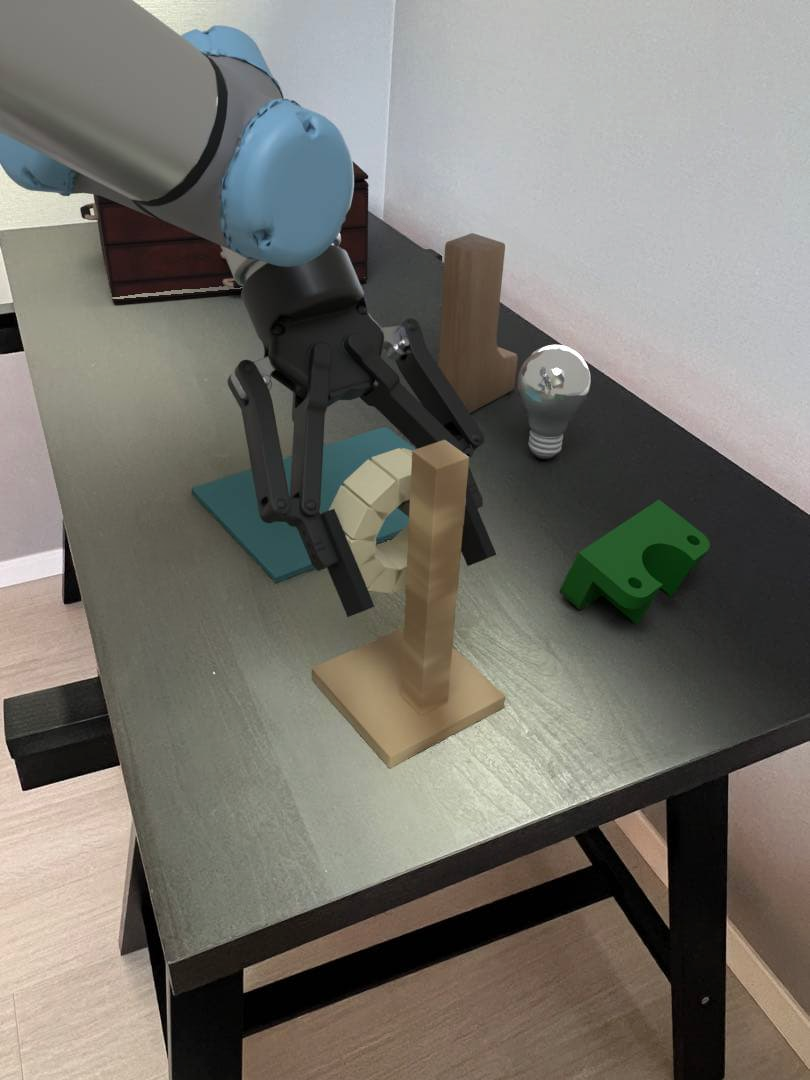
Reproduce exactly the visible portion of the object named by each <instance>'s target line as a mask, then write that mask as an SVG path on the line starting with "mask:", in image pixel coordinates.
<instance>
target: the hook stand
mask: <svg viewBox="0 0 810 1080" xmlns="http://www.w3.org/2000/svg"><path fill="white" fill-rule="evenodd" d="M468 467H469V468H470V458H469V457H468V456H467V455H465V454H464V453H463V452H461V451H460V450H458V449H457V448H456V447H454V446H453V445H451V444H450V443H448V442H447V441H446V440H442V441H439V442H436V443H433V444H430V445H427V446H424V447H421V448H418V449H417V448H415V450H413V451H412V467H411V488H410V500H407V501H405V502H402V503H401V504H400V505H399V506H398V507H397V508H398V509H399V510H400V511H402V512H403V513H404V514H405V515H406V516H408V517H409V530H408V551H407V572H406V588H405V596H404V615H403V618H404V619H403V627H399V628H398V629H397V630H394V631H391V632H389V633H386V634H384V635H382V636H380V637H378V638H376V639H373V640H371V641H369V642H367V643H365V644H362V645H360V646H358V647H355V648H353V649H351V650H349V651H347V652H344V653H342V654H340V655H338V656H335V657H333V658H331V659H329V660H327V661H325V662H322V663H320V664H317V665H315V666H313V667H311V680H312V681H313V683H314V684H315V685H316V686H317V687H318V688H319V689H320V690H321V692H322V693H323V694H324V696H326V697H327V699H328V700H329V701H330V702H331V703H332V705H334V707H335V708H336V709H337V710H338V711H339V712H340V714H342V716H343V717H344V718H345V719H346V720H347V722H348V723H349V724H350V725H351V727H353V729H354V730H355V731H356V732H357V733H358V734H359V735H360V737H361V738H363V740H364V741H365V742H366V744H367V745H368V746H369V747H370V748H371V749H372V750H373V751H374V753H375V754H376V755H377V756H378V757H379V758H380V759H381V761H382V762H383V763H384V764H385V765H386V767H388V769H391V768H393V767H395V766H397V765H399V764H400V763H402V762H404V761H406V760H409V759H411V758H412V757H414V756H416V755H417V754H420V753H421V752H423V751H425V750H427V749H429V748H431V747H433V746H434V745H436V744H438V743H440V742H442V741H444V740H446V739H447V738H449V737H451V736H453V735H455V734H457V733H459V732H461V731H463V730H464V729H467V728H468V727H470V726H472V725H474V724H476V723H477V722H479V721H481V720H483V719H485V718H487V717H489V716H490V715H492V714H495V713H496V712H498V711H500V710H502V709H504V707H505V703H506V702H505V701H506V696H505V694H503V692H502V691H500V689H499V688H498V687H496V686H495V685H494V684H493V683H492V682H491V681H490V680H489V679H488V678H487V677H486V676H485V675H484V674H482V673H481V672H480V670H478V669H477V667H475V666H473V664H471V662H470V661H468V660H467V659H466V658H465V657H464V656H463V655H462V654H461V653H460V652H459V651H457V650H456V649H455V648H454V647H453V646H454V645H453V644H454V634H455V622H456V612H457V611H456V610H457V600H458V589H459V588H458V586H459V578H460V568H461V567H460V566H461V557H462V552H461V545H462V534H463V523H464V512H465V500H466V489H467V478H468Z"/></svg>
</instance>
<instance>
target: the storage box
mask: <svg viewBox="0 0 810 1080" xmlns="http://www.w3.org/2000/svg"><path fill="white" fill-rule="evenodd" d="M352 162H353V170H354V190H353V197H352V202H351V206H350V209H349V211H348V213H347V214H346V218H345V221H344V223H343V224H342V225H341V231H340V232H339V233H340V235H341V242H340V245H339V247H340V248H342V249H344V250H345V251H346V252H347V254H348V256H349V258H350V261H351V263H352V266H353V268H354V270H355V273H356V275H357V277H358V280H359V282H360V285H361V284H363V285H364V284H366V283H367V281H368V253H369V252H368V251H369V250H368V249H369V246H368V245H369V244H368V243H369V241H368V239H369V187H370V185H369V182H368V181H367V180H368V179H369V175H368V174H367V172H366V171H364V170H363V169H362V168H361V167H360V166H359V165H358V164H356V163H355V161H353V160H352ZM92 195H93V202H91V203H87V204H84V205H83V206H81V207H80V208H79V210H80V216H81V218H82V219H83V220H88V221H96V222H97V228H98V233H99V234H98V235H99V240H100V241H99V242H100V248H101V247H102V248H101V254H102V258H103V261H105V262H103V263H104V268H105V271H106V277H107V282H108V286H109V291H110V295H111V294H112V295H111V300H112V303H113V304H114V305H128V304H139V303H151V302H152V303H153V302H164V301H173V300H187V299H198V298H209V297H221V296H233V295H241V292H242V289H243V288H241V289H229V290H218V291H206V292H194V293H183V294H171V295H159V296H148V297H136V298H124V299H112V297H120V296H128V295H135V294H142V293H156V292H164V291H171V290H182V289H200V288H209V287H219V286H222V287H223V286H228V287H234V288H240V287H243V286H241V285H239V284H238V283H237V282H236V281H235V279H234V277H233V275H232V272H231V270H230V267H229V265H228V262H227V260H226V258H225V255H224V253H223V250H222V248H221V246H220V245H218V244H216V243H214V242H212V241H209V240H207V239H205V238H202V237H200V236H198V235H196V234H193V233H191V232H189V231H187V230H184V229H182V228H180V227H178V226H175V225H173V224H171V223H168V222H164V221H161V220H159V219H156V218H153V217H151V216H148V215H146V214H143V213H141V212H139V211H136V210H134V209H131V208H129V207H126V206H124V205H122V204H119V203H117V202H114V201H112V200H110V199H107V198H105V197H103V196H99V195H94V194H92ZM91 209H92V210H93V215H92V213H91ZM102 252H103V253H102ZM105 266H106V267H105ZM107 275H108V276H107ZM364 277H367V278H364ZM108 280H109V281H108ZM110 289H111V290H110Z"/></svg>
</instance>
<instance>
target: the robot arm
mask: <svg viewBox="0 0 810 1080" xmlns="http://www.w3.org/2000/svg"><path fill="white" fill-rule="evenodd" d="M352 161H353V157H352V154H351V151H350V148H349V145H348V143H347V141H346V139H345V137H344V135H343V134H342V132H341V131H340V129H339V128H338V127H337V126H336V124H335V123H333V122H332V121H331V120H330V119H328V118H327V117H326V116H324V115H322V114H320V113H318V112H316V111H313V110H311V109H308V108H305V107H303V106H302V105H300V104H299V103H298V102H297V101H296V100H293V99H292V100H291V99H288V98H284V95H283V91H282V87H281V86H280V84H279V82H278V81H277V80H276V78H275V77H274V75H273V74H272V73H271V70H270V68H269V67H268V64H267V61H266V59H265V58H264V55H263V54H262V52H261V50H260V48H259V46H258V44H257V43H256V41H255V40H254V39H253V38H252V37H251V36H249V34H247V33H246V32H244V31H242V30H240V29H239V28H236V27H232V26H228V25H216V24H215V25H212V26H210V27H209V28H208V29H207V30H204V31H201V30H199V29H198V28H195V29H192V30H189V31H187V32H185V33H182V34H181V35H180V34H179V33H178V32H177V31H175V30H174V29H173V28H171V27H170V26H168V25H167V24H166V23H165V22H163V21H161V20H160V19H159V18H157V17H156V16H155V15H154V14H152V13H151V12H150V11H148V10H146V9H145V8H144V7H143V6H141V5H140V4H138V3H137V2H136V1H134V0H0V166H1V168H2V169H3V171H4V172H5V173H6V175H7V176H8V177H9V179H10V180H11V181H13V182H14V183H15V184H16V185H18V186H19V187H21V188H23V189H25V190H27V191H30V192H31V191H32V192H43V193H52V194H53V193H56V194H59V195H60V196H62V197H70V196H71V195H75V194H76V195H77V194H87V195H88V194H89V195H93V194H94V195H99V196H103V197H105V198H107V199H110V200H112V201H114V202H117V203H119V204H122V205H124V206H126V207H129V208H131V209H134V210H136V211H139V212H141V213H143V214H146V215H148V216H151V217H153V218H156V219H159V220H161V221H164V222H168V223H171V224H173V225H175V226H178V227H180V228H182V229H184V230H187V231H189V232H191V233H193V234H196V235H198V236H200V237H202V238H205V239H207V240H209V241H212V242H214V243H216V244H218V245H220V246H221V248H222V250H223V253H224V255H225V258H226V260H227V262H228V265H229V267H230V270H231V272H232V275H233V277H234V279H235V281H236V282H237V283H238V284H239V285H241V286H243V289H242V292H241V294H240V297H241V299H242V302H243V304H244V307H245V309H246V311H247V314H248V316H249V319H250V321H251V324H252V326H253V328H254V331H255V333H256V336H257V338H258V339H259V340H260V342H261V343H262V345H263V350H264V351H263V353H264V354H263V357H262V358H259V359H257V360H254V361H252V360H250V359H243V360H241V361H240V362H239V363H238V364H237V365H236V367H235V368H234V370H233V371H232V372H231V374H230V375H229V376H228V378H227V386H228V389H229V390H230V392H231V394H232V395H233V397H234V399H235V401H236V403H237V404H238V407H239V408H240V411H241V416H242V421H243V428H244V433H245V438H246V443H247V451H248V457H249V461H250V469H252V474H253V480H254V486H255V492H256V497H257V503H258V509H259V515H260V517H261V519H262V520H263V521H264V522H266V523H273V522H287V524H288V525H290V526H292V527H296V528H297V530H298V532H299V534H300V536H301V539H302V541H303V544H304V546H305V549H306V550H307V553H308V555H309V558H310V561H311V563H312V565H313V566H314V567H315V568H314V569H315V570H316V571H317V572H319V571H323V570H325V569H327V571H328V574H329V576H330V579H331V581H332V583H333V586H334V588H335V591H336V593H337V595H338V598H339V600H340V603H341V605H342V609H343V610H344V612H345V615H346V618H350V617H353V616H355V615H357V614H360V613H363V612H366V611H368V610H370V609H372V608H373V609H374V607H376V606H375V603H374V602H373V599H372V597H371V594H370V591H368V589H367V587H366V584H365V582H364V579H363V577H362V574H361V572H360V570H359V567H358V565H357V562H356V560H355V558H354V555H353V553H352V550H351V548H350V546H349V544H348V541H347V538H346V536H345V533H344V531H343V529H342V526H341V524H340V521H339V519H338V516H337V514H336V512H335V509H332V510H329V511H326V512H324V513H322V514H320V512H319V510H320V501H321V481H322V461H323V446H324V439H325V438H324V437H325V421H326V419H325V418H326V417H325V416H326V411H327V409H328V407H331V406H332V405H333V404H335V403H337V402H338V401H351V400H355V399H358V398H359V399H361V400H362V401H363V402H364V403H365V404H366V405H367V406H369V407H374V408H375V409H376V410H377V411H378V412H379V413H380V414H381V415H382V416H383V417H385V419H386V420H387V421H388V422H389V423H390V424H391V425H392V426H394V428H396V429H397V430H398V432H400V434H401V435H403V437H405V439H406V440H407V441H409V442H410V443H411V444H412V446H413V447H414V448H415V449H418V448H421V447H424V446H427V445H430V444H433V443H436V442H439V441H442V440H446V441H447V442H448V443H450V444H451V445H453V446H454V447H456V448H457V449H458V450H460V451H461V452H463V453H464V454H465V455H467V456H468V457H469V459H470V458H472V457H473V455H474V452H475V451H476V450H477V449H478V448H479V447H480V446H482V445H483V444H484V443H485V440H486V439H485V435H484V433H483V431H482V430H481V428H480V427H479V425H478V423H477V422H476V420H475V419H474V418H473V416H472V415H471V413H469V412H468V410H467V409H466V407H465V406H464V404H463V403H462V401H461V400H460V398H459V397H458V395H457V394H456V392H455V390H454V389H453V387H452V386H451V384H450V383H449V381H448V380H447V378H446V377H445V375H444V374H443V372H442V371H441V369H440V368H439V366H438V362H437V361H436V360H435V359H434V357H433V356H432V354H431V353H430V351H429V350H428V348H427V344H426V342H425V338H424V335H423V332H422V329H421V328H422V327H421V325H420V323H419V322H418V321H417V319H415V318H412V317H409V318H407V319H405V321H404V322H402V324H400V325H395V326H393V325H392V326H384V327H382V326H381V325H380V324H379V323H378V322H377V321H376V320H375V319H374V318H373V317H372V316H371V315H370V313H369V311H368V307H367V303H366V296H365V291H364V289H363V287H362V285H361V284H360V282H359V280H358V277H357V275H356V273H355V270H354V268H353V266H352V263H351V261H350V258H349V256H348V254H347V252H346V251H345V250H344V249H342V248H340V247H339V245H340V242H341V235H340V233H339V232H340V231H341V225H342V224H343V223H344V221H345V218H346V214H347V213H348V211H349V209H350V206H351V202H352V197H353V190H354V170H353V162H354V161H353V162H352ZM94 195H93V196H94ZM383 349H384V350H386V352H387V357H388V359H390V360H395V364H396V366H397V368H398V370H399V373H401V375H402V377H403V378H404V380H405V381H406V383H407V384H408V385H409V387H410V389H411V390H412V392H413V394H412V393H411V392H410V391H409V390H408V389H407V388H406V387H405V386H404V385H403V384H402V383H401V381H400V380H401V379H400V376H399V375H398V373H397V372H396V371H395V370H394V369H393V368H392V367H391V366H390V365H389V364H388V363H387V362H386V361H385V360H384V359H383V358H382V357H381V356H382V353H383ZM272 378H273V379H274V380H276V381H277V382H278V383H280V384H281V385H283V386H284V387H285V388H287V389H288V390H289V391H291V392H292V404H291V405H292V408H291V421H292V422H293V429H292V430H293V433H292V446H291V447H292V448H291V456H292V464H291V482H290V497H289V492H288V487H287V481H286V475H285V470H284V464H283V459H284V458H283V454H282V453H283V452H282V448H281V442H280V438H279V437H280V436H279V430H278V424H277V419H276V414H275V408H274V404H273V398H272V395H271V392H270V391H271V389H272V387H273V382H272ZM375 382H377V384H375ZM414 395H415V396H416V397H417V398H416V397H415V396H414ZM482 507H484V504H483V496H482V494H481V491H480V490H479V487H478V485H477V482H476V479H475V478H474V475H473V472H472V471H471V468H470V466H469V467H468V478H467V489H466V505H465V516H464V525H463V534H462V545H461V555H462V556H463V559H464V561H465V564H466V566H467V567H469V566H472V565H475V564H477V563H480V562H483V561H485V560H488V559H490V558H492V557H494V556H496V555H497V552H496V550H495V548H494V545H493V542H492V540H491V538H490V536H489V533H488V531H487V529H486V526H485V524H484V521H483V519H482V517H481V514H480V512H479V508H482Z"/></svg>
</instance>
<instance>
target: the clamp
mask: <svg viewBox="0 0 810 1080" xmlns="http://www.w3.org/2000/svg"><path fill="white" fill-rule="evenodd" d="M710 544H711V543H710V541H709V538H707V536H706V535H705V534H704V533H703V532H701V531H700V530H699V529H697V528H696V527H695V526H693V524H692V523H690V522H688V521H687V520H686V519H685V518H683V517H682V516H681V515H680V514H678V513H677V512H676V511H675V510H673V509H672V508H670V507H669V506H668V505H666V504H665V503H664V502H663V501H662V500H660V499H657V500H656V501H654V502H653V503H651V504H650V505H648V506H647V507H645V508H644V509H642V510H641V511H639V512H637V513H636V514H635V515H633V516H632V517H630V518H629V519H627V520H625V521H624V522H622V523H621V524H619V525H618V526H616V527H615V528H613V529H612V530H610V531H609V532H607V533H606V534H604V535H603V536H601V537H600V538H598V539H597V540H595V541H594V542H592V543H591V544H589V545H587V547H586V546H585V548H583V549H582V550H580V551H579V552H578V553H577V555H576V557H575V559H574V561H573V562H572V565H571V567H570V569H569V571H568V572H567V575H566V577H565V578H564V580H563V583H562V584H561V586H560V589H559V593H560V594H561V595H562V596H563V597H564V598H566V600H568V601H569V602H570V603H572V605H574V606H575V607H576V608H577V609H578V610H579V611H580V610H583V609H585V608H586V607H588V605H590V604H591V603H593V602H594V601H596V600H597V599H599V598H601V596H603V597H604V598H605V599H606V600H607V601H609V602H610V603H611V604H612V605H613V606H614V607H616V608H617V609H618V610H619V611H620V612H621V613H622V614H624V615H625V616H626V617H627V618H628V619H630V620H631V621H632V622H633V623H634V624H635V625H637V624H638V623H640V622H641V620H642V619H643V618H644V615H645V614H646V613H647V611H648V610H649V607H650V606H651V604H652V603H653V601H654V600H655V598H656V596H657V595H658V593H659V592H660V589H662V590H663V591H664V592H665V593H666V594H668V596H669V597H670V598H672V597H673V596H674V595H675V594H676V593H677V591H678V589H679V588H680V586H681V585H682V583H683V582H684V580H685V579H686V577H687V576H688V574H689V572H690V571H691V570H692V569H693V568H694V567H696V566H697V565H699V563H701V562H702V560H703V559H704V557H705V555H706V554H707V553H708V551H709V549H710V546H711V545H710Z"/></svg>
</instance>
